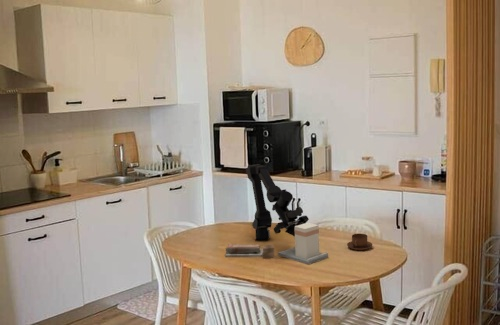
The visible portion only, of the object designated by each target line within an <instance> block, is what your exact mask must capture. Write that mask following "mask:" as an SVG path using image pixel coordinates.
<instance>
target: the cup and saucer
mask: <svg viewBox="0 0 500 325" xmlns="http://www.w3.org/2000/svg"><path fill="white" fill-rule="evenodd" d="M346 246H347V247H348V248H350V249H352V250H355V251H366V250H368V249H371V248H372V247H373V242H371V241H368V235H367V234H366V233H365V234H364V233H354V234H352V235H351V241H348V242H347V243H346Z"/></svg>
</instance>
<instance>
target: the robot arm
mask: <svg viewBox="0 0 500 325" xmlns="http://www.w3.org/2000/svg"><path fill="white" fill-rule="evenodd" d="M245 173H246V175H247V179H248V180H249V181H250V182H251V184H252V190H253V196H254V203H255V209H256V210H255V212H254V220H253V222H252V224H251V225H252V228H253V229H254V230H255V240H254V241H255V242H256V241H260V242H266V241H268V240H269V239H270V238H271V236H270V234H271V232H270V228H272V224H273V218H272V215H271V211H270V210H268V209H267V208H266V201H265V195H264V191H263V186H264V188H265V189H266V199H267V200H268V202H269V203H274V204H272V211H273V212H274V211H275V213H276V214H277V216H278V220H279V222H277V223H276V225H275V226H274V227H273V232H274V233H275V235H278V234H280V233H281V231H282V230H284V229H285V231H284V232H285V234H286V233H287V234H289V235H290V236H293V237H294V238H295V226H298V225H301V224H305V223H308V221H309V220H310V219H309V217H308V216H307V215H302V214H304V213H303V212H304V210H303V208H302V207H301V206H299V207H296V208H295V209H293V210H292V209H289V208H288V207H289V205H290V204H291V202H292V200H293V198H294V197H293V196H294V195H293V194H292V193H291V192H290V191H287V189H281V188H280V186H278V185H276V184H275V181H274V180H273V178H272V177H271V175H270V172H269V171H268V168H267V166H266V165H261V164H259V163H258V164H249V165H247V167H246V168H245ZM262 184H263V185H262Z"/></svg>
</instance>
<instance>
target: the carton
mask: <svg viewBox="0 0 500 325" xmlns="http://www.w3.org/2000/svg"><path fill="white" fill-rule="evenodd" d="M319 233H320V229H319V225H318V224H315V223H312V222H311V223H310V222H306V223H305V224H301V225H298V226H295V237H294V244H295V246H294V247H295V250H296V256H298V257H302V258H305V259H308V258H311V257H314V256H316V255H319V252H320V236H319V235H320V234H319Z"/></svg>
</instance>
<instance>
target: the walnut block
mask: <svg viewBox="0 0 500 325" xmlns="http://www.w3.org/2000/svg"><path fill="white" fill-rule="evenodd" d="M262 249H263V255H262V259H275V250H274V249H275V248H274V244H263V245H262Z"/></svg>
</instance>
